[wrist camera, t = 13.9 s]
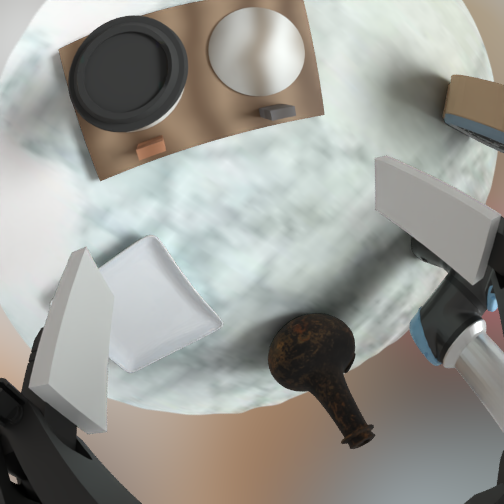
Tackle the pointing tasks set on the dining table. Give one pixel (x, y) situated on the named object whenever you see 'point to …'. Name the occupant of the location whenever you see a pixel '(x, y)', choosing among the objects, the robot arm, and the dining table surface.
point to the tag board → (220, 80)
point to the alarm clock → (476, 109)
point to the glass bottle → (320, 369)
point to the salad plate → (152, 306)
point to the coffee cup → (128, 74)
